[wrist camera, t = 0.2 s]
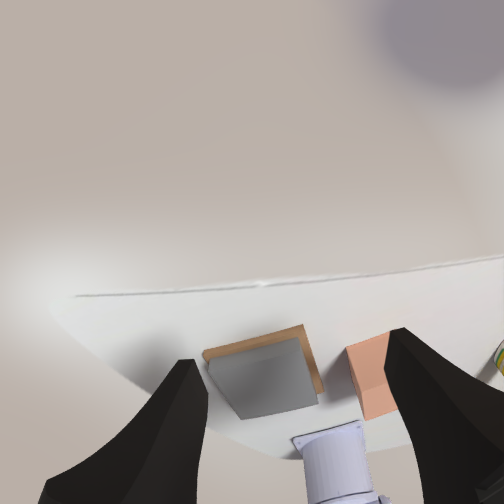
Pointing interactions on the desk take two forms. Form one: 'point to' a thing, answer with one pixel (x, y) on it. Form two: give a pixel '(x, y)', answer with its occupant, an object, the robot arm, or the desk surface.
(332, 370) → the desk surface
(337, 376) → the desk surface
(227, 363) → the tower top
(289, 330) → the tower base
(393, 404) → the terracotta block
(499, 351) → the supplement bottle
